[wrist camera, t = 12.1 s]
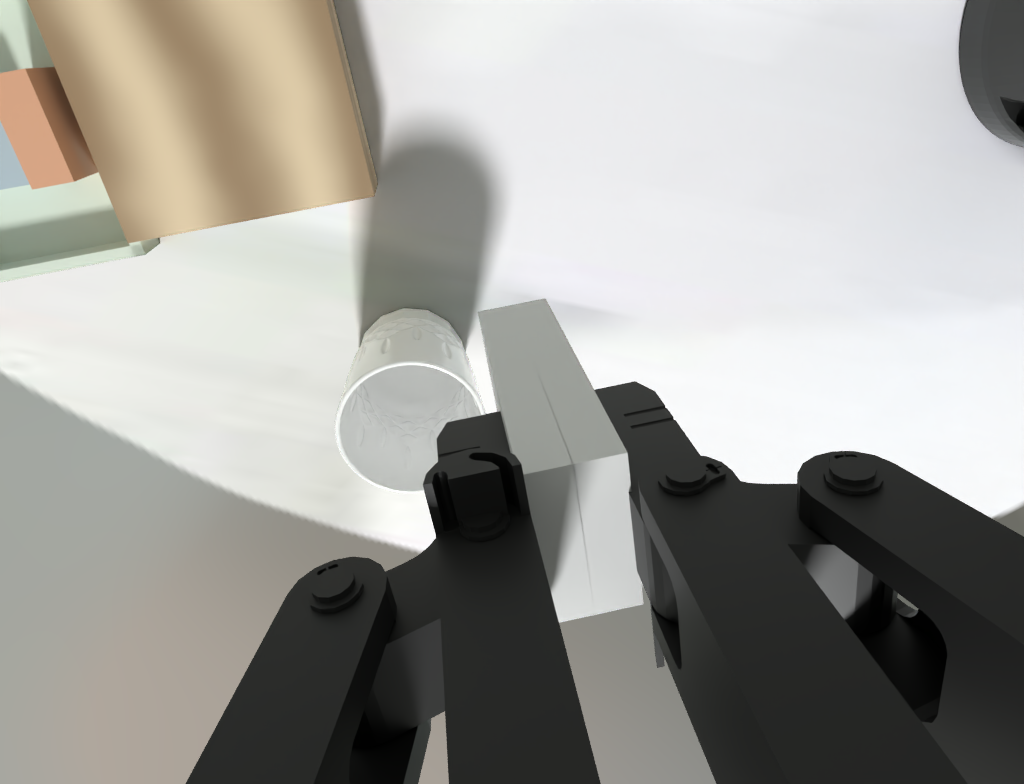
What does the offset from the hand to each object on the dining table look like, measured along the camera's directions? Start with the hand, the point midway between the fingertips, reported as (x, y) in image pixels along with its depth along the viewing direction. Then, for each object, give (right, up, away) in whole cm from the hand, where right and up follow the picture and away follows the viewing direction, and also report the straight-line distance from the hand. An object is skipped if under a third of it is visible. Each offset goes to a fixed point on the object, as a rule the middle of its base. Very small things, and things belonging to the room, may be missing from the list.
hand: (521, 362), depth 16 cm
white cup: (-7, +2, +30) cm, 31 cm away
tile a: (-22, +13, +19) cm, 32 cm away
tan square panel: (-15, +15, +22) cm, 31 cm away
